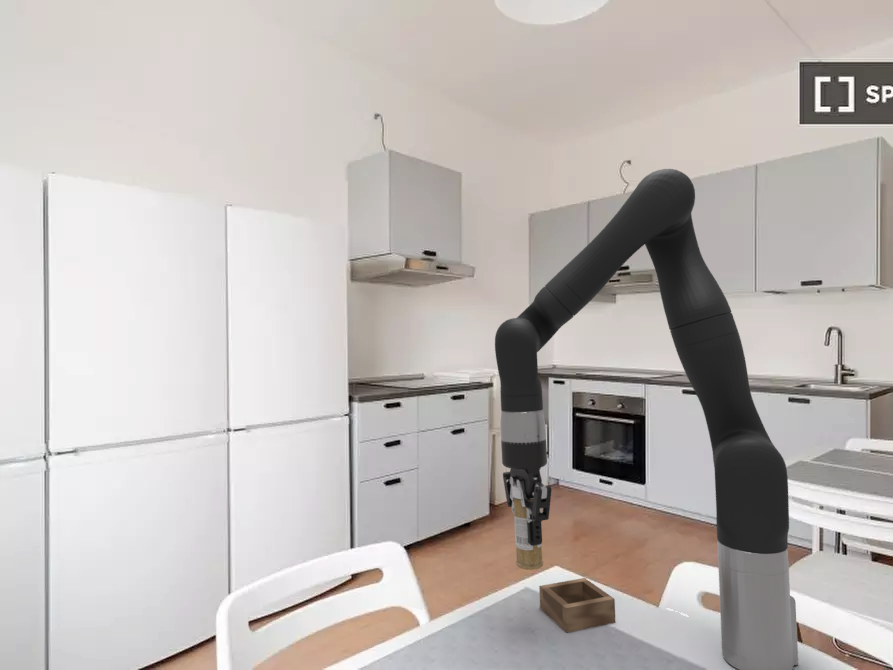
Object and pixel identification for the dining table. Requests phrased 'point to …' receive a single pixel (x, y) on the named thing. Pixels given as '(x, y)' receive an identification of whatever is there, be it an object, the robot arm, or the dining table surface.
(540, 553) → the sprinkles bottle
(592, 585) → the frame
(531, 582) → the dining table surface
